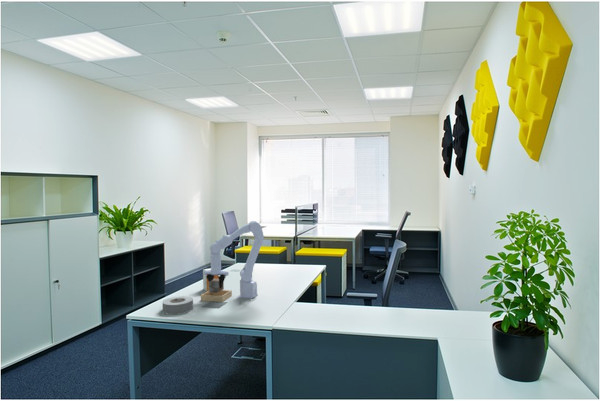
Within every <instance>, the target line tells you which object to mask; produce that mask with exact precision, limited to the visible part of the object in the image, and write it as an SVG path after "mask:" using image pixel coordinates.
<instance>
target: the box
mask: <svg viewBox="0 0 600 401" xmlns="http://www.w3.org/2000/svg"><path fill="white" fill-rule="evenodd" d="M224 282H225V281H224ZM224 282H223V286H222V288H220V287H219V279H214V280H212V281H210V282H209V292H210V293H218V292H220V291H221V290H225V288H224V287H225V286H224Z"/></svg>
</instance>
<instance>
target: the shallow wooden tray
mask: <svg viewBox="0 0 600 401" xmlns="http://www.w3.org/2000/svg"><path fill="white" fill-rule="evenodd" d="M232 293H233V292H232V290H226V289H223V290H221V291H220V292H218V293H210V292H209V291H205V292H204V293H201V294H200V301H201V302H210V301H215V302H226V301H227V300H228V299H229V298H231V297H232V296H233V294H232Z"/></svg>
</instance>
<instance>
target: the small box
mask: <svg viewBox="0 0 600 401" xmlns="http://www.w3.org/2000/svg"><path fill="white" fill-rule="evenodd" d="M204 271H211V267H210V268H205V269H204V268H203V269H202V286H203V291H205V292H207V291H209V281H208V279H207V278H206V276H207V275H204ZM218 276H220V275H214V279H219V278H218Z"/></svg>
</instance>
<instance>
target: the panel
mask: <svg viewBox="0 0 600 401" xmlns="http://www.w3.org/2000/svg"><path fill="white" fill-rule="evenodd" d="M227 303H228V302H227V301H223V302H216V301H208V302H207V303H205V304H204V305H202V306H201V307H202V308H211V309H220V308H221V307H223V306H224V305H227Z"/></svg>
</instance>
